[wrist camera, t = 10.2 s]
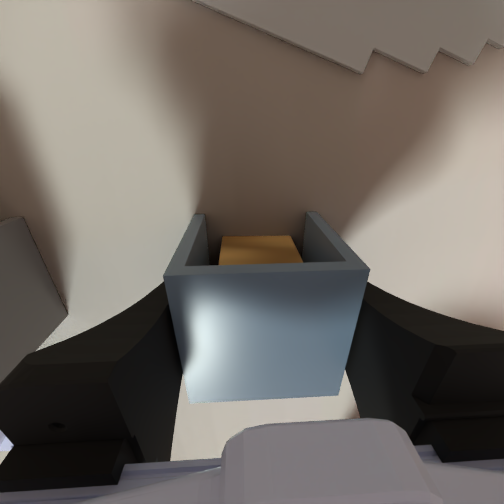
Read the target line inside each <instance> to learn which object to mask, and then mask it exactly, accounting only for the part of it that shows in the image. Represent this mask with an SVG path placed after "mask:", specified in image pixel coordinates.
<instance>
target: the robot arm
mask: <svg viewBox="0 0 504 504" xmlns="http://www.w3.org/2000/svg"><path fill="white" fill-rule="evenodd" d="M345 370H346V373H347V376H348V379H349V382H350V385H351V388H352V391H353V394H354V398H355V401H356V404H357V407H358V411H359V414H360V418H359V419H342V420H325V421H308V422H291V423H274V424H264V425H259V426H254V427H250V428H245V429H244V430H242V431H241V432H239V433H237V434H236V435H234V436H233V437H231V438H230V439H229V440H228V441H227V442H226V444H225V447H224V450H223V452H222V457H221V458H214V459H199V460H183V461H170V457H171V449H172V441H173V434H174V426H175V419H176V412H177V405H178V399H179V392H180V386H181V380H182V374H183V370H182V365H181V360H180V355H179V351H178V346H177V341H176V336H175V331H174V326H173V322H172V317H171V312H170V307H169V302H168V297H167V292H166V288H165V283H164V282H163V283H161V284H160V285H159V286H158V287H157V288H155V289H154V290H153V291H151V292H150V293H149V294H148V295H146V296H145V297H144V298H142V299H141V300H140V301H138V302H137V303H135V304H134V305H132V306H131V307H129V308H128V309H126V310H124V311H123V312H121V313H119V314H118V315H116V316H114V317H112V318H110V319H108V320H107V321H105V322H103V323H101V324H99V325H97V326H95V327H93V328H91V329H89V330H87V331H85V332H83V333H80V334H78V335H76V336H74V337H71V338H69V339H66V340H64V341H62V342H59V343H56V344H54V345H51V346H48V347H46V348H43V349H41V350H38V351H35V352H33V353H30V354H27V355H26V356H25V357H24V358H23V359H22V360H21V361H20V362H19V364H18V365H17V366H16V367H15V368H14V369H13V370H12V371H11V372H10V373H9V374H8V375H7V376H6V378H5V379H4V380H3V381H2V382H1V383H0V451H10V452H9V453H8V455H7V456H6V457H5V459H4V460H3V462H2V463H1V464H0V504H504V331H501V330H496V329H492V328H488V327H484V326H480V325H476V324H472V323H468V322H465V321H462V320H458V319H455V318H451V317H448V316H445V315H442V314H439V313H436V312H433V311H430V310H428V309H425V308H422V307H420V306H417V305H414V304H412V303H409V302H407V301H405V300H403V299H400V298H398V297H396V296H394V295H392V294H389V293H387V292H385V291H383V290H382V289H380V288H378V287H376V286H374V285H372V284H371V283H369V282H367V284H366V288H365V292H364V296H363V300H362V304H361V308H360V311H359V315H358V319H357V323H356V327H355V331H354V335H353V339H352V343H351V347H350V351H349V355H348V359H347V363H346V367H345Z"/></svg>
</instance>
